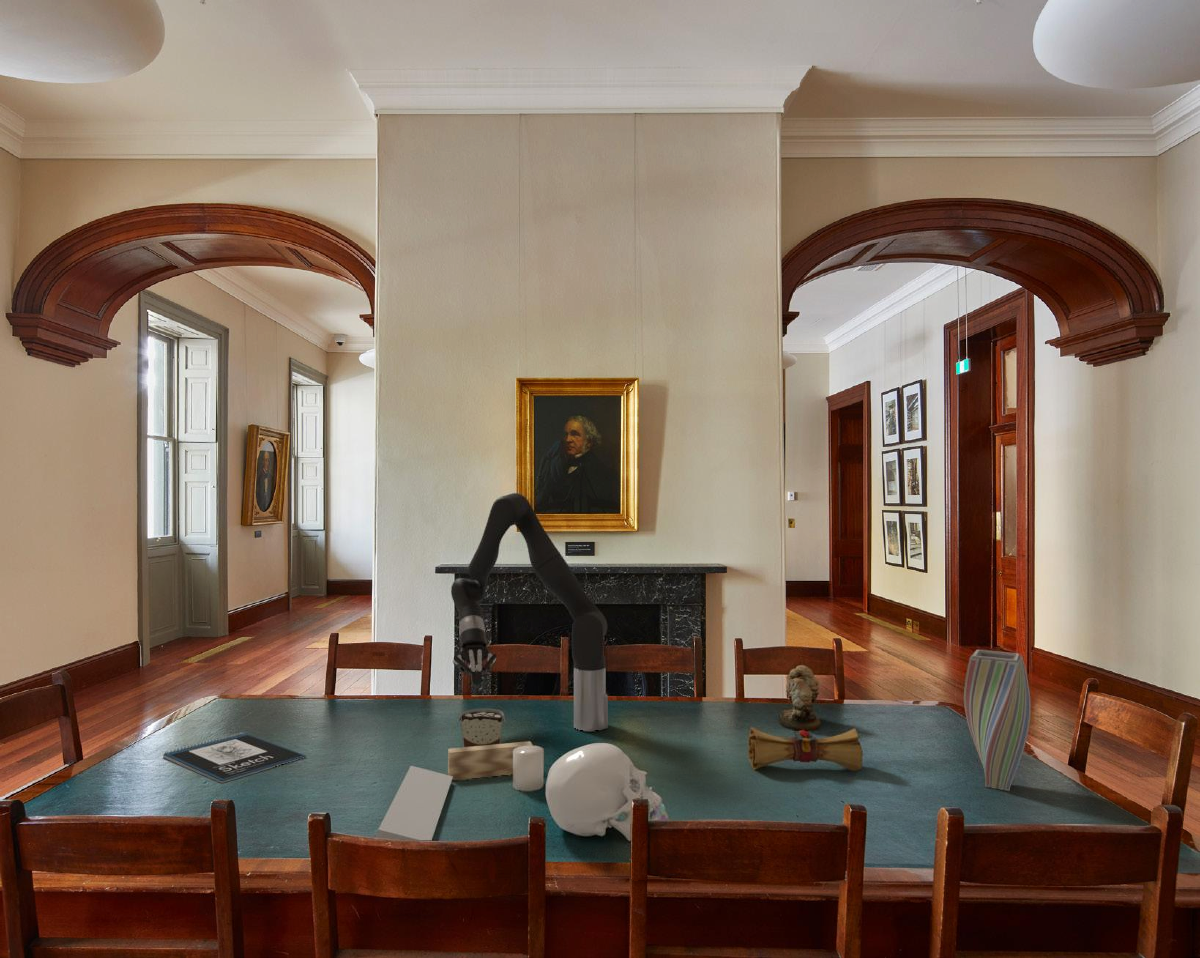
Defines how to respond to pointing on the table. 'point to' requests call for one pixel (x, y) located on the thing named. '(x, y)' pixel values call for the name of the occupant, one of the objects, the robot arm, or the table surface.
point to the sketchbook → (232, 757)
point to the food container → (481, 727)
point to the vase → (998, 712)
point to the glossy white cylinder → (528, 768)
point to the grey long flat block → (416, 806)
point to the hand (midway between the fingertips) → (477, 685)
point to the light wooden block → (482, 760)
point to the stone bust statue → (801, 700)
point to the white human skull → (597, 790)
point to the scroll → (805, 749)
